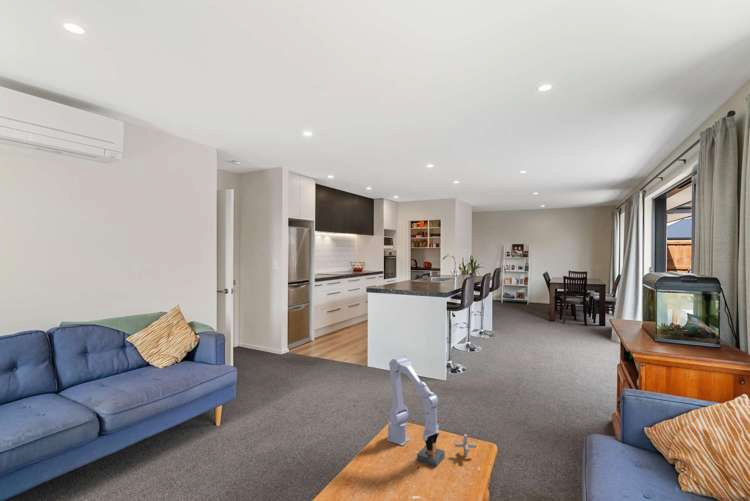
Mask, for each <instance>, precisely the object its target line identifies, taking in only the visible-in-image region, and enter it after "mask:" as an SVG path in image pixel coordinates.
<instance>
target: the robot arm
mask: <svg viewBox="0 0 750 501" xmlns="http://www.w3.org/2000/svg"><path fill="white" fill-rule="evenodd" d="M388 367H389V375H390V376H389V377H390V385H391V386H390V387H391V393H392V403H393V405H392V407H391V408H390V409H389V423H388V426H387V439H386V441H388V442H389V443H394V444H397V445H399V446H404V445H405V444H406V443H408V441H409V440H410V438H409V437H407V424H408V421H410V420H409V419H410V413H409V410H408V406H407V405H405V404H404V396H403V395H404V394H403V389H402V380H401V379H402V378H401V374H405V375H406V377H408V378H409V380H410V381H411V382H412V383H413V384H414V390H415V391H416V393H417V394H418V396H419V398H421V400H422V401H421V403H422V406H423V409H424V422H425V423H424V432H423V434H422V440H423V441H424V443H425V445H426V447H427V450H429V451H432V446H433V442H434V443H436V444H437V440H438V438H439V435H440V430H438V429H440V425H439V423H438V406H439V405H440V398H439V397H438V395H437V394H436V393H434V392H433V391H432V390H430V387H428V385H427V384H426V382H424V381H421V380H420V378H419V376H418V374H417V372H416V371H415V369H414V368H413V367H412V361H411V360H410V358H409V357H408V356H407V355H403V356H401V357H398V358H397V357H395V358H392V359H391V360H390V361H389V362H388Z"/></svg>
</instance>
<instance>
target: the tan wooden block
mask: <svg viewBox="0 0 750 501" xmlns="http://www.w3.org/2000/svg"><path fill="white" fill-rule="evenodd" d="M436 448H437V442H436V443H434V442H433V446H432V451H429V450H428V451H427V454H428V455H431V456H434V455H435V454H436Z"/></svg>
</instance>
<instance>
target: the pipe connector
mask: <svg viewBox="0 0 750 501" xmlns="http://www.w3.org/2000/svg"><path fill="white" fill-rule="evenodd" d="M454 447H455V448H463V457H465V458H466V457H468V453H469V452H470V449H471V448H472V449H477V444H476V443H469V442H468V434H465V433H464V434H463V438H462V442H455V443H454Z"/></svg>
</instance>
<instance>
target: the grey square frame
mask: <svg viewBox="0 0 750 501" xmlns="http://www.w3.org/2000/svg"><path fill="white" fill-rule="evenodd" d="M427 451H428V450H427V447H426V444H425V445H424V446H423V447H422V448H421V450H420V451H418V453H417V454H416V461H417V462H420V463H423V464H425V465H429V466H432V467H434V468H437V467H438V466H439V465H440V463H441V462H442V461H443V460H444V459H445V456H446V455H445V454H446V453H445V452H446V451H445V450H443V449H441V448H437V447H436V454H435V455H434V456H431V455H428V454H427Z"/></svg>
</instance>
